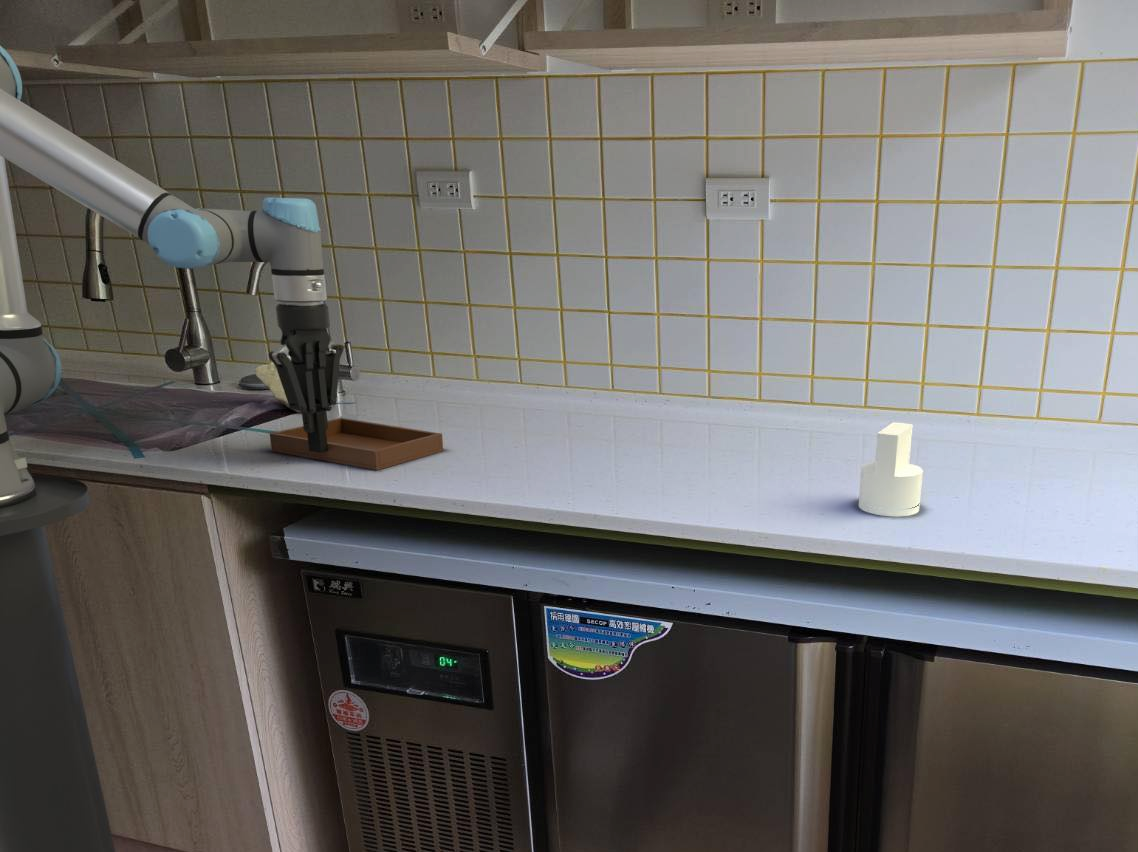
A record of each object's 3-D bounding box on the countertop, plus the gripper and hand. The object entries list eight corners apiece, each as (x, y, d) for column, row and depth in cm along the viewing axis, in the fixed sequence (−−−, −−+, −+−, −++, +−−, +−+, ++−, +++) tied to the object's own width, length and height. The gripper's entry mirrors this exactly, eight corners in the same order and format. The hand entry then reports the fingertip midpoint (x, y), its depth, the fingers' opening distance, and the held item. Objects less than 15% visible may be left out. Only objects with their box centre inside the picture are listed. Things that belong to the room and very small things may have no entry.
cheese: (340, 420, 199) (341, 365, 206) (319, 399, 192) (321, 342, 200) (270, 441, 200) (274, 385, 208) (248, 420, 194) (252, 363, 201)
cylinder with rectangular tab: (910, 519, 141) (918, 438, 137) (850, 510, 144) (856, 430, 140) (925, 504, 148) (933, 426, 144) (868, 495, 152) (874, 419, 148)
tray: (376, 470, 157) (374, 451, 156) (271, 451, 166) (269, 433, 165) (443, 451, 170) (442, 433, 169) (342, 434, 179) (341, 417, 178)
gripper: (284, 307, 145) (303, 462, 153) (351, 301, 156) (365, 446, 164) (249, 304, 148) (269, 456, 156) (317, 298, 159) (332, 440, 167)
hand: (318, 450), depth 160 cm, fingers closed
